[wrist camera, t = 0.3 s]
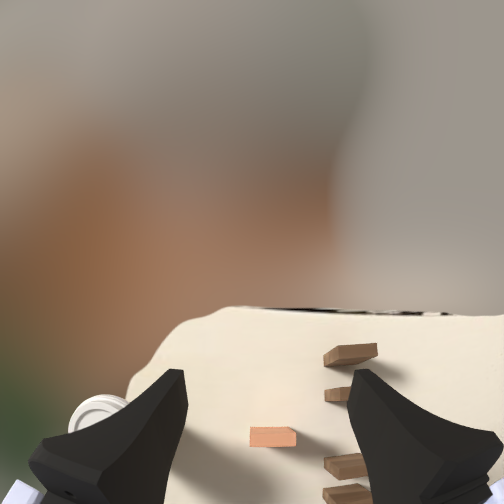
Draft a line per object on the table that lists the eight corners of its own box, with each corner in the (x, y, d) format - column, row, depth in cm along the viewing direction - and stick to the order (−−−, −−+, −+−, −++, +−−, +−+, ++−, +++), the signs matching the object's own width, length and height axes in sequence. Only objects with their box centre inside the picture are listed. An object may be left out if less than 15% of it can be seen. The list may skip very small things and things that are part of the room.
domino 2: (357, 364, 38) (377, 355, 31) (323, 366, 38) (338, 358, 31) (356, 353, 39) (376, 342, 32) (323, 355, 39) (337, 345, 32)
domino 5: (356, 492, 28) (376, 507, 22) (322, 497, 29) (336, 515, 22) (357, 483, 29) (377, 496, 23) (323, 488, 29) (337, 504, 23)
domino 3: (358, 397, 36) (379, 396, 29) (324, 401, 36) (340, 401, 29) (358, 387, 36) (379, 383, 30) (324, 390, 36) (339, 387, 30)
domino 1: (287, 437, 33) (295, 445, 27) (250, 438, 33) (249, 446, 27) (288, 426, 34) (296, 432, 27) (250, 427, 34) (249, 433, 27)
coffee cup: (167, 473, 30) (126, 504, 17) (111, 437, 32) (50, 446, 19) (196, 419, 34) (165, 429, 21) (137, 386, 36) (83, 374, 23)
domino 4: (358, 462, 31) (379, 473, 24) (323, 467, 31) (338, 480, 24) (358, 452, 32) (379, 461, 25) (324, 457, 32) (339, 468, 25)
